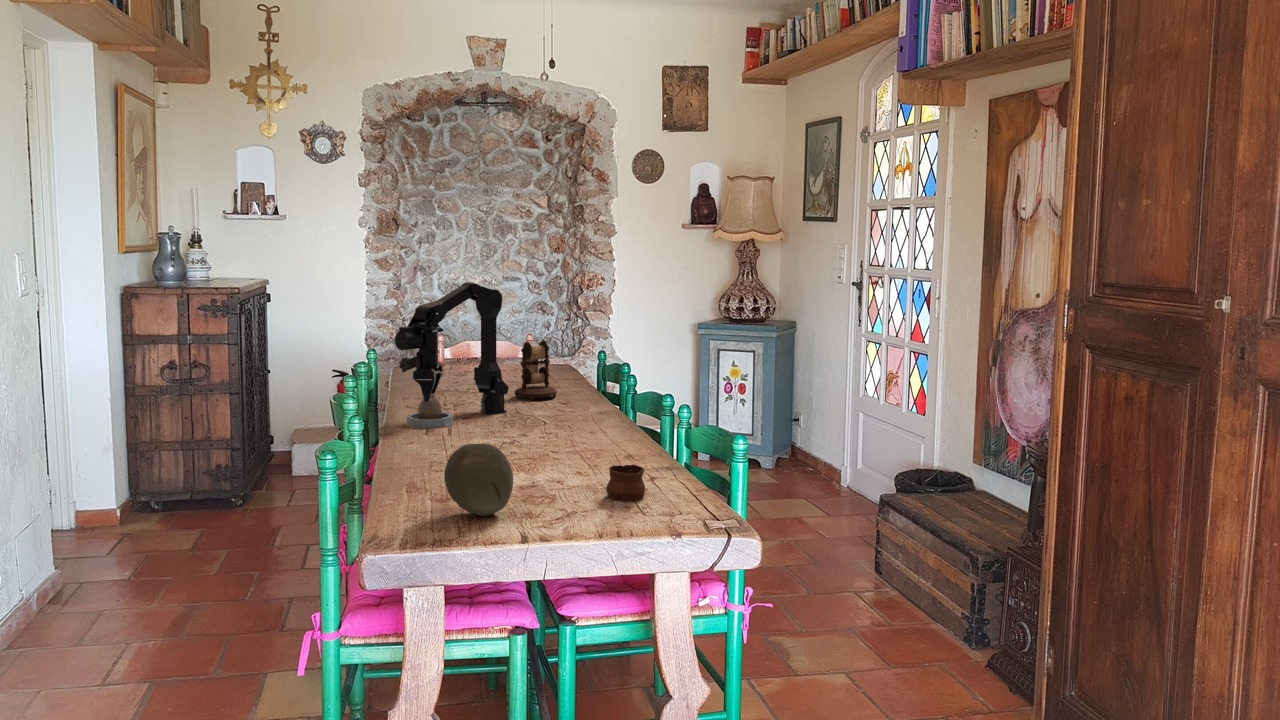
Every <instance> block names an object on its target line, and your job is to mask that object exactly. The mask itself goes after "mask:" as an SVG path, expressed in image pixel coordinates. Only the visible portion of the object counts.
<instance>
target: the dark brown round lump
mask: <svg viewBox="0 0 1280 720" xmlns="http://www.w3.org/2000/svg"><path fill="white" fill-rule="evenodd" d="M444 468H445V469H444V473H443V475H444V476H443V478H444V485H445V487H446V490H447V493H448V494H449V497H450V498H451V499H452V500H453V501H454V502H455V503H456V504H457V505H458V507H459V508H461V509H462V510H463V511H466V512H468V513H471V514H473V515H476V516H479V517H488V516H489V517H490V516H492V515H494V514H496V513H498V512H499V511H501V510H503V509H504V508H505V507H506V506H507V504H508V502H509V500H510V498H511V495H512V492H513V487H514V474H513V469H512V466H511V463H510V461H509V459H508V458H507V457H506V455H505V454H504V453H503V452H502V451H501V450H500V449H499V448H498V447H496V446H494V445H493V444H490V443H468V444H464V445H462V446H460V447H459V448H457V449H456V450H455V451H454V452H453V453H452V454H451V455H450V456H449V458H448V459H447V463H446V465H445V467H444Z"/></svg>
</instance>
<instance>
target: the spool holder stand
mask: <svg viewBox="0 0 1280 720" xmlns="http://www.w3.org/2000/svg"><path fill="white" fill-rule="evenodd" d="M520 350H521V361H520V367H521V368H522V370H521V376H520V377H521V379H522V380H521V382H522V384H521V386H520V387H517V388H516V389H515V390H514V395H515V398H518V397H521V398H522V397H524V398H529V399H530V401H531V402H533V401H534V398H545V397H546V398H547V397H552V398H553V399H556V397H557V394H558V393H557V389H555V388H554V387H551V386H549V385H550V381H549V377H550V372H549V371H550V369H549V365H550V364H551V360H550V359H549V358H550V356H549V351H550V346H549V345H548V342H546V341H545V340H541V341H540V342H539V345H532V344H531V343H530V342H529V341H526V342H524V343H523V344H522V348H521V349H520ZM539 365H544V366H540V368H539ZM543 383H544V385H540V384H543ZM537 384H539V385H537Z"/></svg>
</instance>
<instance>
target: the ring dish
mask: <svg viewBox="0 0 1280 720" xmlns="http://www.w3.org/2000/svg"><path fill="white" fill-rule="evenodd" d="M407 425H408V426H407ZM452 425H454V414H452V413H449V412H445V411H444V412H443V411H442V414H441V418H439V419H420V417H419V412H414V413H411V414H410V413H409V414H408V415H407V416H406V426H407V427H410V428H413V427H414V428H415V429H437V428H438V429H439V428H446V427H450V426H452Z"/></svg>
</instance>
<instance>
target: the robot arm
mask: <svg viewBox="0 0 1280 720" xmlns="http://www.w3.org/2000/svg"><path fill="white" fill-rule="evenodd" d="M467 300H472V301H474V302H475V309H476V310H477V313H478V315H479V316H480V362H479V364H478V366H477V367H474V368H473V372H474V373H473V374H474V377H473V380H474V383H475V386H477V390H478V392H479V393H480V394H482V398H481V399H480V400H481V401H480V407H481V408H480V412H482V413H485V414H488V415H493V414H494V415H495V414H503V413H504V414H505V413H507V410H505V395H507V394H508V392H509V389H510V388H509V386H508V385H507V383H505V381H504V380H503V376H502V370H501V367H500V366H499V364H498V363H497V334H498V333H497V328H498V327H497V323H498V322H497V319H498V318H497V317H498V316H499V313H500V312H501V310H502V305H503V294H502V293H501V291H500V290H498V289H493V288H492V289H491V288H488V287H486V286H482V285H480V284H477V283H476V282H467V281H466V282H464V283H462V284H461V285H460V286H458V287H457V288H455V289H454V290H452V291H450V292H449V293H447V294H446V295H444V296H443V297H441V298H439V299H437V300H435V301H430V302H427V303H424V304H421V305H418V306H417V307H415V309H414V314H413V316H412V317H411V319H410V321H409V323H408V325H407V326H399V328H398V331H397V333H396V335H395V337H394V345H395V347H396V348H397V350H399V351H407V350H409V351H410V350H417V349H418V351H417V352H416V354H415V356H412V357H408V356H406V357H403V358H401V359H400V360H401V361H399V362H398V364H399V369H400V370H401V371H402V373H406V372H408V371H409V370H412V369H415V368H416V369H415V370H414V371H413V372H412V379H413V381H414V382H416V383H417V384H418V385H419V386H420V389H421V393H422V396H423V399H424V401H425V402H428V401H429V398H430V395H431V393H433V394H434V395H435V393H436V391H437V388H438V386H439V384H440V381H441V378H442V376H443V373H444V371H445V370H444V364H443V363H442V362H441V361H439V354H440V350H439V341H438V339H439V337H438V333H442V332H444V329H443V328H442V327H441V326H440V325H439V323H441V322H442V321H443V320H444V319H445V317H446V315H447V313H449V312H450V311H451V310H453V309H455V308H456V307H459V306H460V305H461V304H463V303H464V302H466V301H467Z"/></svg>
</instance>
